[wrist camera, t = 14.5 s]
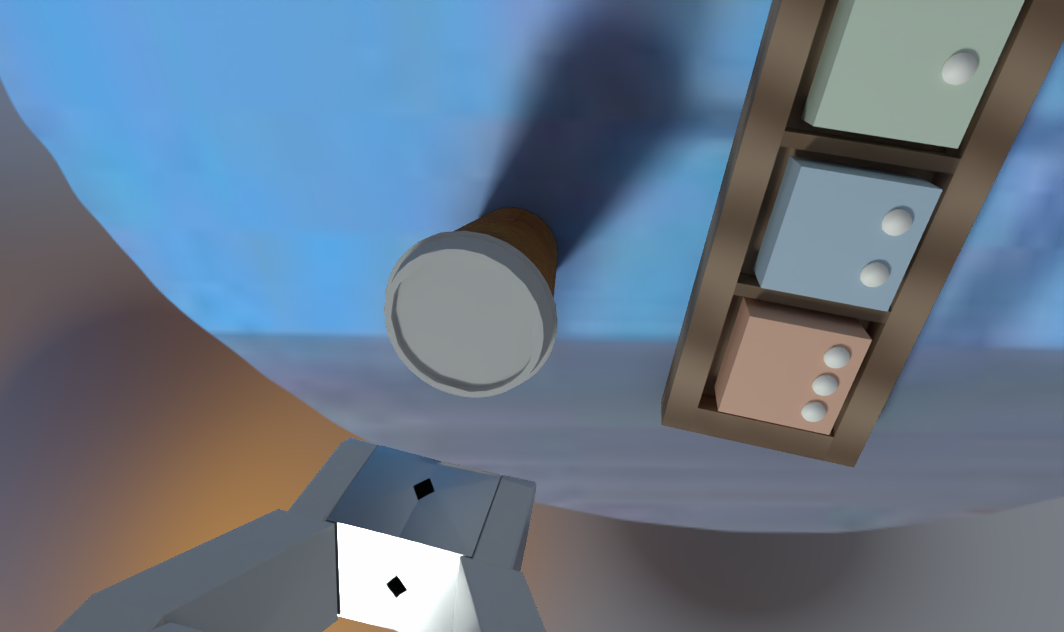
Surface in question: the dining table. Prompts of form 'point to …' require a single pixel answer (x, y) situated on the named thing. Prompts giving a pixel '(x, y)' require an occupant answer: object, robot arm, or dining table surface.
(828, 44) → the tile one
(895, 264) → the tile two
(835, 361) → the tile three
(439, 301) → the disposable coffee cup
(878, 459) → the dining table surface
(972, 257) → the dining table surface
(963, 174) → the key frame
